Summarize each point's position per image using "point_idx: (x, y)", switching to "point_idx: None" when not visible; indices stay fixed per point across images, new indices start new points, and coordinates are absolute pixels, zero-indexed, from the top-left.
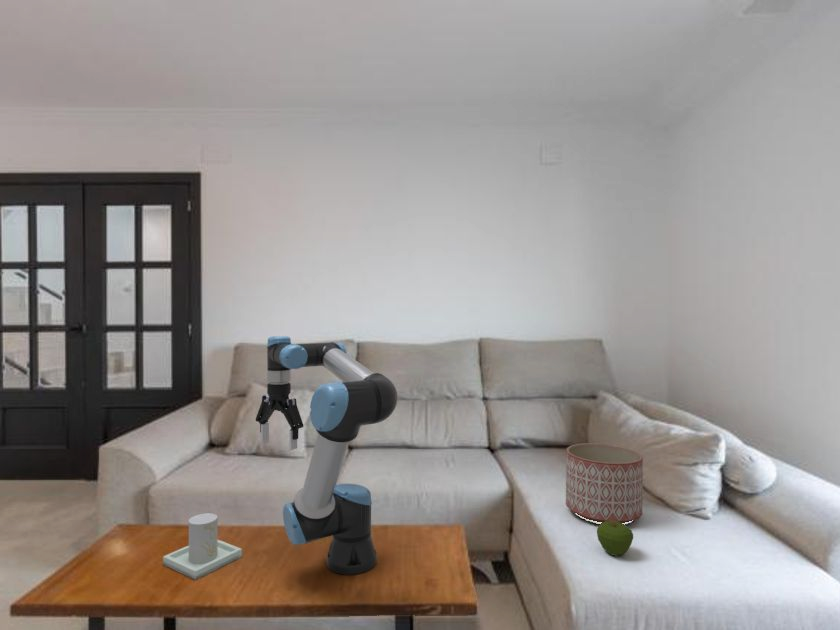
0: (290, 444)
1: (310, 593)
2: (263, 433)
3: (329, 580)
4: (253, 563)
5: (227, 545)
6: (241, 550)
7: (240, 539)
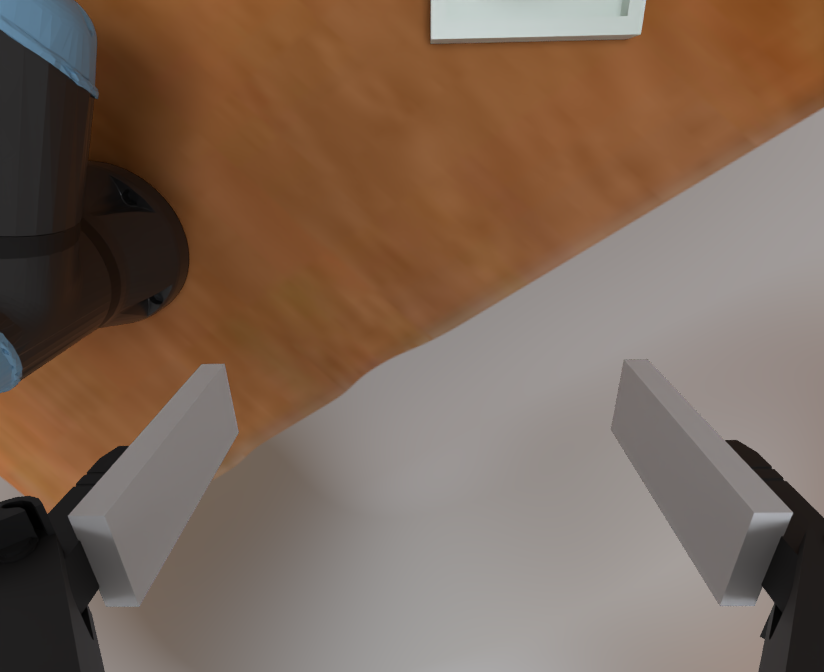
0: (185, 393)
1: None
2: (674, 436)
3: None
4: (353, 35)
5: (506, 22)
6: (431, 38)
7: (546, 141)
